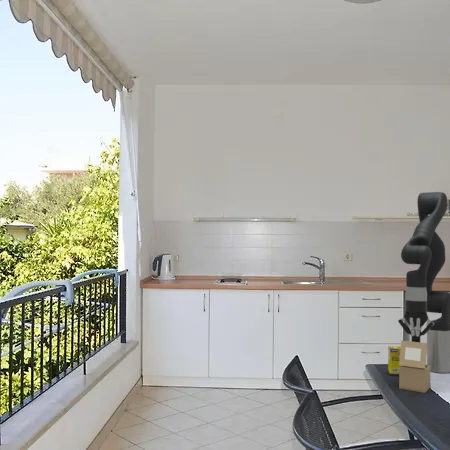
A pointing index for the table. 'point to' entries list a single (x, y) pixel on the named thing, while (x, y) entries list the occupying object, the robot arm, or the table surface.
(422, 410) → the table surface
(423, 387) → the carton
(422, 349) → the flap
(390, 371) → the supplement box
